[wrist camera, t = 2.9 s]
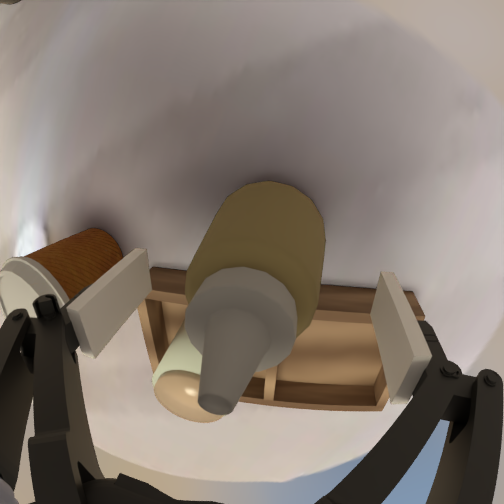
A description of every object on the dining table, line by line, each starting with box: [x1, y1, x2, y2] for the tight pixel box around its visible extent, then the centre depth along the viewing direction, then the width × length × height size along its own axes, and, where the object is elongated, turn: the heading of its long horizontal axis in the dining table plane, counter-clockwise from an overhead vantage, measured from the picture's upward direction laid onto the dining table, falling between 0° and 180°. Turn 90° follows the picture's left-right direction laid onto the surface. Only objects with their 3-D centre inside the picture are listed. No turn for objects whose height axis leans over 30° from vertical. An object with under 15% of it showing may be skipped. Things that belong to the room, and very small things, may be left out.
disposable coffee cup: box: [0, 228, 123, 319], centre depth 24 cm, size 10×10×12 cm
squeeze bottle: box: [184, 181, 326, 415], centre depth 17 cm, size 8×8×18 cm
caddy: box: [137, 267, 425, 411], centre depth 28 cm, size 13×25×4 cm, turn 89°
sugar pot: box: [152, 319, 225, 423], centre depth 26 cm, size 7×7×9 cm
